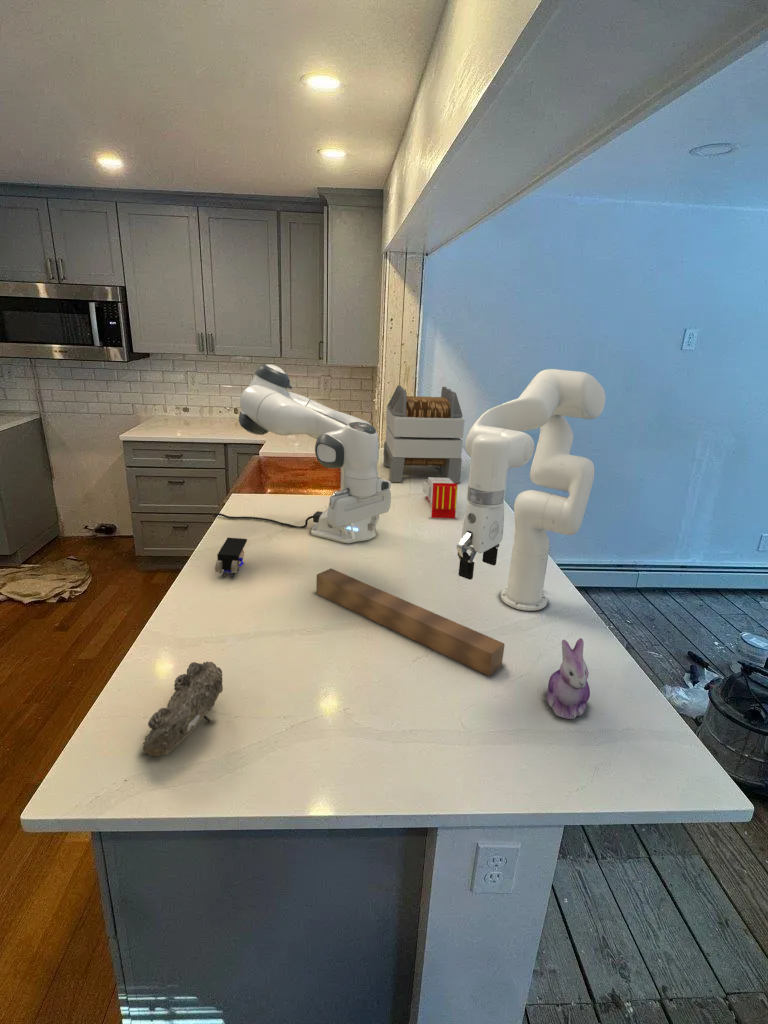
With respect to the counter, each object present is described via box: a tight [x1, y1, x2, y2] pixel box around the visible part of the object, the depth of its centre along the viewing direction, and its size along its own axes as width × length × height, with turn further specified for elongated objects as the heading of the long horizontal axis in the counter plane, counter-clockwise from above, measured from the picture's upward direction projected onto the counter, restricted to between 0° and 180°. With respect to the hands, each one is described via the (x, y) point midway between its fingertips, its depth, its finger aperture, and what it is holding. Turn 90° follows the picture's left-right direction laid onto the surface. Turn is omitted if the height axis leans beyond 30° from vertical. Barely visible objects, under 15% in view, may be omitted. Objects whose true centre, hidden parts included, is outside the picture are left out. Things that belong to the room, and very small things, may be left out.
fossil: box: [142, 661, 224, 757], centre depth 105 cm, size 22×10×15 cm
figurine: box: [546, 637, 591, 720], centre depth 113 cm, size 9×10×15 cm
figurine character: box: [214, 537, 248, 578], centre depth 166 cm, size 7×8×15 cm
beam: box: [315, 568, 506, 677], centre depth 141 cm, size 54×6×6 cm, turn 50°
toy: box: [422, 476, 458, 519], centre depth 227 cm, size 12×13×30 cm
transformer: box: [383, 384, 465, 484], centre depth 268 cm, size 34×33×41 cm
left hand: (359, 534), depth 153 cm, fingers open, 8 cm apart
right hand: (477, 570), depth 123 cm, fingers open, 9 cm apart
